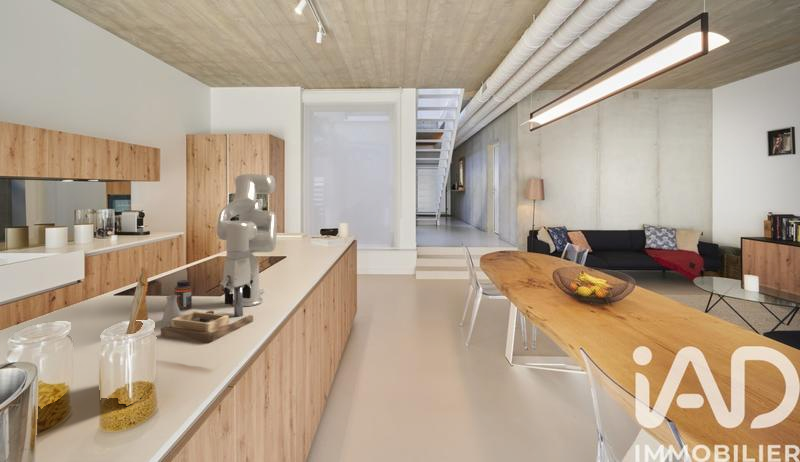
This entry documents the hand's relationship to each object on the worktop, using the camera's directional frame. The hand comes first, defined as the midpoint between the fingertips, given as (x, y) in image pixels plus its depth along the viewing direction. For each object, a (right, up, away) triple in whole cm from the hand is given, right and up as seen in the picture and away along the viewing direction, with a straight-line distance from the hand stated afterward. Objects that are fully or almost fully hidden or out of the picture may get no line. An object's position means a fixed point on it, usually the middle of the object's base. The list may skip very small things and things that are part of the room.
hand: (238, 301), depth 137 cm
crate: (-5, -7, -17) cm, 19 cm away
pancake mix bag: (-2, -12, -50) cm, 51 cm away
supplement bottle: (-28, -6, +13) cm, 32 cm away
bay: (-4, -8, -13) cm, 16 cm away
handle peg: (0, -7, +1) cm, 7 cm away
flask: (-21, -7, -5) cm, 23 cm away
